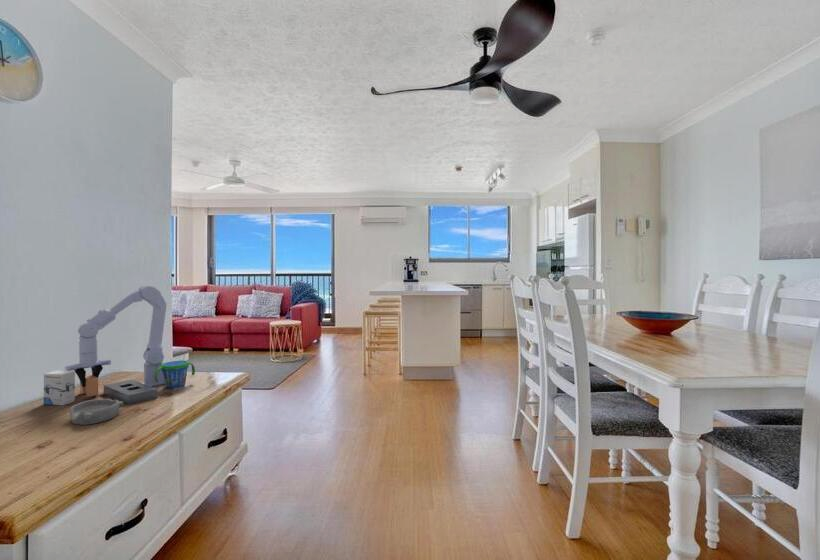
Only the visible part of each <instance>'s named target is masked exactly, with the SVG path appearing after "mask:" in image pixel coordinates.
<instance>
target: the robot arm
mask: <svg viewBox="0 0 820 560" xmlns="http://www.w3.org/2000/svg"><path fill="white" fill-rule="evenodd" d="M143 300H144V301H146V302H147V303H148V304H149V305H151V306H152V314H151V321H150V329H149V330H150V331H149V338H148V339H149V340H148V343H147V344H146V349H145V351H144V352H143V355H142V356H143V360H145V362H144V363H143V382H141V383H142V384H145V385H148V386H150V387H155V386H160V385H164V384H165V381H164V375H163V372H162V369H160V370H159V371H158V372H157V380H158V382H156V381H155V378H154V376H155V372H156V370H157V369H158V368H159V367H160V366H161V365H162V364H163V363H166V362H167V361H165V362H164V359H165V355H164V352H163V345H162V344H163V335H164V326H165V319H166V312H167V302H166V300H165V299H164V296H163V295H162V293H161V291H160V290H159V289H157V287H155V286H152V285H142V286H140V287H139V288H137V289H135V290H133V291H132V292H130V293H129V294H127V295H126V296H125V297H124V298H122V299H121V300H120V301H119V302H117V303H116V304H115V305H114V306H112V307H110V308H105V309H103V310H98V311H97V314H96V315H94V316H92V317H91V318H90V319H89V318H88V319H86V322H84V323H81V324H80V325H79V327H78V330H77V331H78V334H79V339H78V340H79V342H78V348H79V351H78V352H79V353H78V354H79V363H75V364H70V365H65V366H64V371H74V372H75V375H76V376H77V377H78V379H79V383H80V382H81V386H82V387H85V386H86V382H85V375H87V374H86V373H87V370H85V369H88V368H90V369H91V375H92V376H95V377H97V378H98V379H99V376H100V374H101V372H102V371H103V366H107V365H108V366H110V365H111V363H112V361H111V359H102V360H100V359H99V360H98V339H97V335H98V333H99V331H101V330H102V329H104V328H105V327H107V326H108V325H110V324H111V323H112V322H113V321H115V320H116V317H117V316H116V315H118V314H119V313H120V312H123V310H125V309H126V308H128V307H129V306H131V305H132V304H133V303H137V302H143Z"/></svg>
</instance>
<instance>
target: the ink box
mask: <svg viewBox="0 0 820 560" xmlns="http://www.w3.org/2000/svg"><path fill="white" fill-rule="evenodd" d="M75 385H76V373H75V371H74V370H72V371H65V370H53V371H50V372H46V373H43V405H51V406H52V405H55V406H65V405H68V404H70V403H74V402H76V401H75V399H76V398H75V396H76V395H75V387H76V386H75Z"/></svg>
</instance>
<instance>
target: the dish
mask: <svg viewBox="0 0 820 560" xmlns="http://www.w3.org/2000/svg"><path fill="white" fill-rule="evenodd" d="M123 405H124V402H122V401H119V400H117V399H111V398H97V399H90V400H85V401H82V402H78V403H76V404H74V405H73V406H71V407H70V409H69V418H70V420H71V423H72V424H75V425H79V426H83V425H84V426H85V425H93V424H98V423H102V422H105V421H108V420H110V419H111V420H112V419H113V418H115V417H116V416H117V415H118V414H119V413H120V412H119V411H120V409H121V408H122V407H123Z"/></svg>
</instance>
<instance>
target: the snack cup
mask: <svg viewBox="0 0 820 560" xmlns="http://www.w3.org/2000/svg"><path fill="white" fill-rule="evenodd" d="M165 362H166V363H164V362H163V364H162V365H161V366H160V367H159V368H158V369H157V370H156V372H155V376H154V378H155V381H156V382H158V380H157V372H158V371H159V370H160V369H162V372H163V375H164V381H165V388H169V389H176V387H177V388H180V387H183V386H185V385H186V381H187V374H188V368H189V365H191V375H192V376H194V375H195V373H196V367H195V365H194V364H193V363H192V362H189V361H188V360H172V361H168V362H167V361H165Z"/></svg>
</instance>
